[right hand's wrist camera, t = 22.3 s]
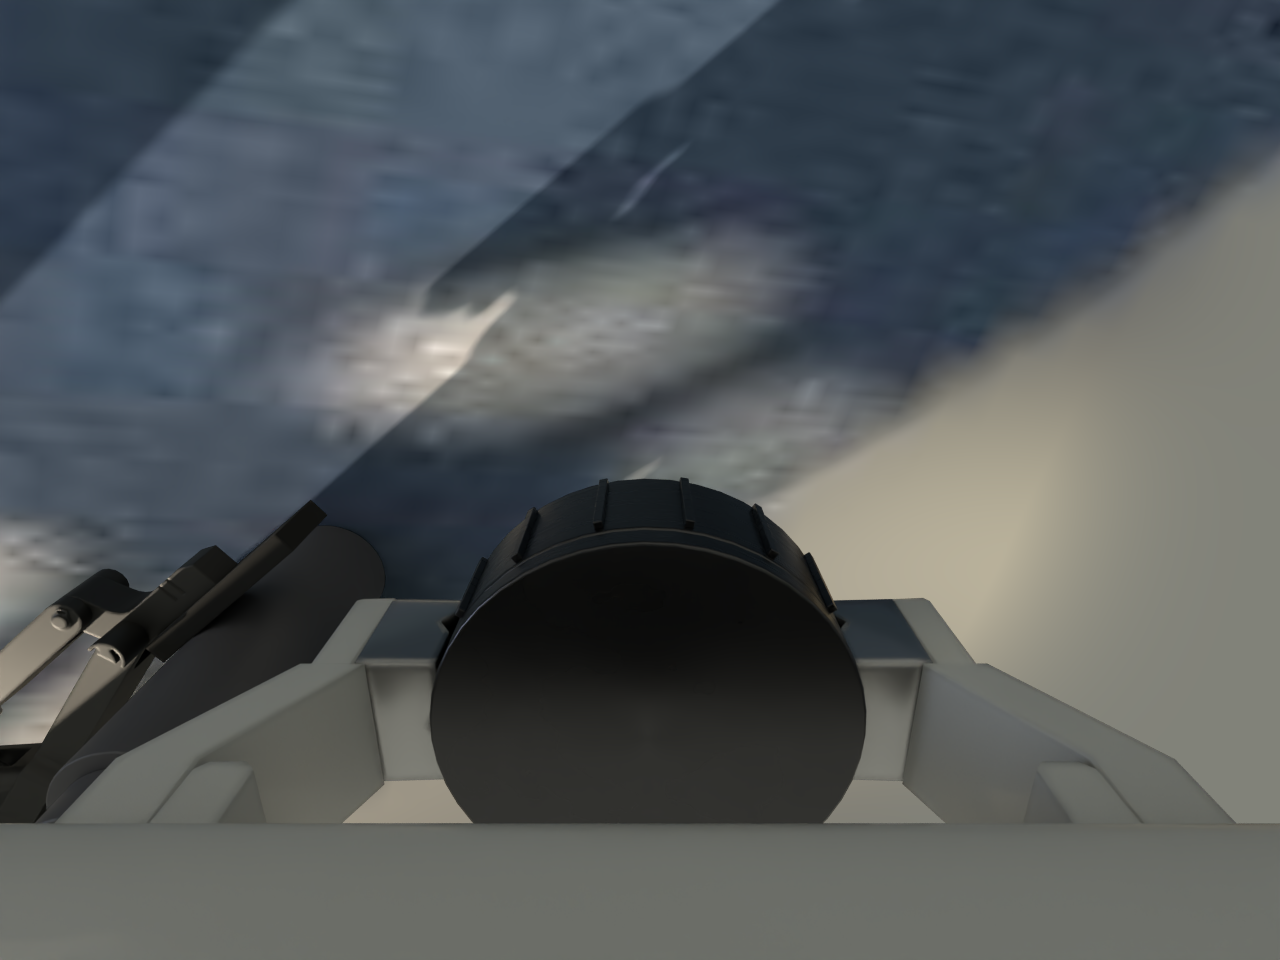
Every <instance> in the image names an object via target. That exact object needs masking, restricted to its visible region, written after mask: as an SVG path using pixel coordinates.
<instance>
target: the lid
mask: <svg viewBox="0 0 1280 960" xmlns="http://www.w3.org/2000/svg"><path fill="white" fill-rule="evenodd" d="M835 611H837V607H836V605H835V603H834V601H833V599H832V597H831V595H830V592H829V590H828V588H827V586H826V584H825V582H824V580H823V578H822V576H821V573H820V571H819V569H818V567H817V565H816V563H815V561H814V558H813V557H812V555H811V554H810V553H807V554H805V555H804V554H803V553H802V551H801V550H800V548H799V547H798V546H797V545H796V544H795V543H794V542H793V540H792V539H791V538H790V537H789V536H788V535H787V534H786V533H785V532H784V531H783V530H782V529H781V528H780V527H779V526H777V525H776V524H775V523H774V522H772V521H771V520H770V519H769V518H768V517H766V516H765V515H764V513H763V510H762V507H760V506H759V505H757V504H754V505H753V507H751V506H749V505H747V504H746V503H744V502H742V501H740V500H738V499H736V498H733V497H731V496H729V495H727V494H724V493H722V492H720V491H716V490H713V489H710V488H706V487H703V486H700V485H696V484H691V483H689V479H687V478H682V477H681V478H680V481H673V480H659V479H635V480H622V481H615V482H610V483H609V482H608V479H602V480H600V481H599V485H595V486H591V487H588V488H585V489H582V490H579V491H576V492H573V493H570V494H568V495H566V496H563V497H561V498H559V499H557V500H555V501H553V502H551V503H549V504H547V505H545V506H544V507H542V508H541V509H539V510H538V511H537V510H536V508H535V507H533V508H531V509H530V510H528V512H527V515H526V518H525V519H524V520H523V521H522V522H521V523H520V524H519V525H518V526H516V527H515V528H514V529H513V530H512V531H511V532H510V533H508V534H507V536H506V537H505V538H504V539H503V540H502V541H501V543H500V544H499V545H498V546H497V547H496V548H495V550H494V551H493V552H492V554H491V555H490V557H489V559H488V560H487V559H486V558H484V557H482V558H481V560H480V561H479V563H478V565H477V568H476V570H475V572H474V574H473V576H472V578H471V581H470V583H469V585H468V587H467V589H466V591H465V594H464V596H463V598H462V600H461V602H460V604H459V607H458V609H457V611H456V613H455V615H456V616H458V617H459V618H460V619H459V621H458V624H457V626H456V628H455V630H454V633H453V635H452V637H451V639H450V642H449V644H448V646H447V648H446V651H445V653H444V655H443V658H442V660H441V662H440V664H439V667H438V669H437V673H436V677H435V680H434V684H433V688H432V692H431V703H430V715H429V717H430V729H431V740H432V744H433V748H434V753H435V757H436V761H437V764H438V766H439V769H440V771H441V774H442V776H443V779H444V781H445V783H446V785H447V787H448V789H449V790H450V792H451V794H452V795H453V797H454V799H455V800H456V802H457V804H458V805H459V806H460V807H461V809H462V810H463V811H464V812H465V814H466V815H467V816H468V817H469V819H470V820H471V821H472V822H473V823H824V822H825V821H826V819H827V818H828V817H829V816H830V815H831V813H832V812H833V811H834V809H835V808H836V806H837V805H838V804H839V803H840V801H841V800H842V798H843V796H844V795H845V793H846V791H847V789H848V787H849V785H850V784H851V782H852V780H853V778H854V775H855V772H856V770H857V767H858V764H859V762H860V759H861V755H862V750H863V745H864V740H865V735H866V714H867V710H866V702H865V694H864V687H863V683H862V680H861V677H860V673H859V670H858V667H857V664H856V661H855V659H854V657H853V655H852V653H851V650H850V648H849V646H848V644H847V642H846V640H845V637H844V635H843V633H842V631H841V629H840V626H839V624H838V622H837V620H836V618H835V616H834V613H833V612H835Z"/></svg>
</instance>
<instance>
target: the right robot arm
mask: <svg viewBox="0 0 1280 960" xmlns="http://www.w3.org/2000/svg"><path fill="white" fill-rule="evenodd" d="M460 602H461V600H432V599H397V600H396V599H395V598H381V599H361V600H357V601H356V602H355V604H354V605H353V607H352V608H351V609H350V611H349V612H348V613H347V615H346V616H345V618H344V619H343V620H342V622H341V623H340V625H339V626H338V627H337V629H336V630H335V632H334V633H333V634H332V636H331V637H330V638H329V640H328V641H327V643H326V644H325V645H324V647H323V648H322V650H321V651H320V652H319V654H318V655H317V657H316V658H315V659H314V661H313V662H312V663H311V664H299V665H297V666H295V667H293V668H291V669H289V670H287V671H285V672H283V673H281V674H279V675H277V676H275V677H273V678H271V679H269V680H267V681H266V682H264V683H262V684H260V685H258V686H256V687H254V688H252V689H250V690H248V691H246V692H244V693H242V694H240V695H238V696H236V697H234V698H232V699H230V700H228V701H227V702H225V703H223V704H221V705H219V706H217V707H215V708H213V709H211V710H209V711H207V712H205V713H203V714H201V715H199V716H197V717H195V718H193V719H191V720H189V721H187V722H186V723H184V724H182V725H180V726H178V727H176V728H174V729H172V730H170V731H168V732H166V733H164V734H162V735H160V736H158V737H156V738H154V739H152V740H150V741H148V742H147V743H145V744H143V745H141V746H139V747H137V748H135V749H133V750H131V751H129V752H127V753H125V754H123V755H121V756H119V757H117V758H116V759H115V760H114V761H113V762H112V763H111V764H110V765H109V766H108V767H107V768H106V769H105V770H104V771H103V772H102V773H101V774H100V775H99V776H98V778H97V779H96V780H95V781H94V782H93V783H92V784H91V785H90V786H89V787H88V788H87V789H86V790H85V791H84V792H83V793H82V794H81V795H80V797H79V798H78V799H77V800H76V801H75V802H74V803H73V804H72V805H71V806H70V807H69V808H68V809H67V810H66V811H65V812H64V813H63V814H62V816H61V817H60V818H59V819H58V820H57V821H56V822H55V823H0V960H1280V824H1237V823H1236V822H1235V821H1234V820H1233V819H1232V818H1231V817H1230V816H1229V815H1228V814H1227V813H1226V812H1225V811H1224V810H1223V809H1222V808H1221V807H1220V806H1219V805H1218V804H1217V803H1216V802H1215V800H1214V799H1213V798H1212V797H1211V796H1210V795H1209V794H1208V793H1207V792H1206V791H1205V790H1204V789H1203V788H1202V787H1201V786H1200V785H1199V784H1198V783H1197V782H1196V781H1195V780H1194V779H1193V778H1192V776H1191V775H1190V774H1189V773H1188V772H1187V771H1186V770H1185V769H1184V768H1183V767H1182V766H1181V765H1180V764H1179V763H1178V762H1177V761H1176V760H1175V759H1173V758H1171V757H1169V756H1168V755H1165V754H1164V753H1162V752H1160V751H1158V750H1156V749H1154V748H1152V747H1150V746H1148V745H1146V744H1144V743H1142V742H1140V741H1138V740H1136V739H1134V738H1132V737H1130V736H1128V735H1126V734H1124V733H1122V732H1120V731H1118V730H1116V729H1114V728H1113V727H1111V726H1109V725H1107V724H1105V723H1103V722H1101V721H1099V720H1097V719H1095V718H1093V717H1091V716H1089V715H1087V714H1085V713H1083V712H1081V711H1079V710H1077V709H1075V708H1073V707H1071V706H1069V705H1067V704H1065V703H1063V702H1061V701H1060V700H1058V699H1056V698H1054V697H1052V696H1050V695H1048V694H1046V693H1044V692H1042V691H1040V690H1038V689H1036V688H1034V687H1032V686H1030V685H1028V684H1026V683H1024V682H1022V681H1020V680H1018V679H1016V678H1014V677H1012V676H1010V675H1008V674H1007V673H1005V672H1003V671H1001V670H999V669H997V668H995V667H993V666H991V665H989V664H976V663H975V662H974V660H973V659H972V657H971V656H970V655H969V653H968V652H967V651H966V649H965V648H964V647H963V645H962V644H961V643H960V641H959V640H958V639H957V637H956V636H955V635H954V633H953V632H952V631H951V629H950V628H949V627H948V625H947V624H946V622H945V621H944V620H943V618H942V617H941V616H940V614H939V613H938V612H937V610H936V609H935V608H934V606H933V605H932V604H931V602H930V601H928V600H926V599H924V598H911V599H878V600H837V601H834V603H835V605H836V607H837V611H835V612H833V613H834V616H835V618H836V620H837V622H838V624H839V626H840V629H841V631H842V633H843V635H844V637H845V640H846V642H847V644H848V646H849V648H850V650H851V653H852V655H853V657H854V659H855V661H856V664H857V667H858V670H859V673H860V677H861V680H862V683H863V687H864V694H865V702H866V710H867V714H866V735H865V740H864V745H863V750H862V755H861V759H860V762H859V764H858V767H857V770H856V772H855V775H854V778H853V780H887V781H903V785H904V786H905V787H907V788H908V789H909V790H910V791H911V792H912V793H913V794H914V795H915V796H917V797H918V798H919V799H920V800H921V801H922V802H923V803H924V804H925V805H926V806H927V807H929V808H930V809H931V810H932V811H933V812H934V813H935V814H936V815H937V816H938V817H940V818H941V819H942V820H943V821H944V822H945V823H343V822H344V821H345V820H346V819H347V818H348V817H349V816H350V815H351V814H352V813H354V812H355V811H356V810H357V809H358V808H359V807H360V806H361V805H362V804H363V803H364V802H366V801H367V800H368V799H369V798H370V797H371V796H372V795H373V794H374V793H375V792H377V791H378V790H379V789H380V788H381V787H382V786H383V785H384V781H399V780H434V779H443V776H442V774H441V771H440V769H439V766H438V764H437V761H436V757H435V753H434V748H433V744H432V740H431V729H430V717H429V715H430V703H431V692H432V688H433V684H434V680H435V677H436V673H437V669H438V667H439V664H440V662H441V660H442V658H443V655H444V653H445V651H446V648H447V646H448V644H449V642H450V639H451V637H452V635H453V633H454V630H455V628H456V626H457V624H458V621H459V619H460V618H459V617H458V616H456V615H455V613H456V611H457V609H458V607H459V604H460Z"/></svg>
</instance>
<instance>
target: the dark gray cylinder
mask: <svg viewBox="0 0 1280 960" xmlns="http://www.w3.org/2000/svg"><path fill="white" fill-rule="evenodd" d="M384 585H385V572H384V567H383V564H382V562H381V560H380V558H379V556H378V554H377V553H376V551H375V550H374V549H373V547H372V546H371V545H370V544H369V543H368V542H367V541H365V540H364V539H363V538H361V537H360V536H358V535H357V534H355V533H353V532H351V531H348V530H346V529H343V528H339V527H334V526H317V527H316V528H315V529H314V530H313V531H312V532H311V533H310V534H309V535H308V536H307V537H306V538H305V539H304V540H303V541H302V542H301V544H300V545H299V546H298V547H297V548H296V549H295V550H294V551H293V552H292V553H290V554H289V555H288V556H287V557H286V558H285V559H283V560H282V561H281V562H280V563H279V564H278V565H276V566H275V567H274V568H273V569H272V570H271V571H270V572H268V573H267V574H266V575H265V576H264V577H263V578H261V579H260V580H259V581H258V582H257V583H256V584H254V585H253V586H252V587H251V588H250V589H249V590H247V591H246V592H245V593H244V594H243V595H242V596H240V597H239V598H238V599H237V600H236V601H235V602H233V603H232V604H231V605H230V606H229V607H228V608H226V609H225V610H224V611H223V612H222V613H221V614H219V615H218V616H217V617H216V618H215V619H214V620H212V621H211V622H210V623H209V624H208V625H207V626H205V627H204V628H203V629H202V630H201V631H200V632H198V633H197V634H196V635H195V636H194V637H193V638H191V639H190V640H189V641H188V642H187V643H186V644H184V645H183V646H182V647H181V648H180V649H179V650H178V651H177V652H176V653H175V654H174V655H173V656H172V657H171V658H170V659H169V660H168V661H167V662H166V663H165V664H164V665H163V666H162V667H161V668H160V669H159V670H158V671H157V672H156V673H155V674H154V675H153V676H152V677H151V678H150V679H149V680H148V681H147V682H146V683H145V685H144V686H143V687H142V688H141V689H140V690H139V691H138V692H137V693H136V694H135V695H134V696H133V697H132V698H131V699H130V700H129V701H128V702H127V703H126V704H125V705H124V706H123V707H122V708H121V709H120V710H119V711H118V712H117V713H116V714H115V715H114V716H113V717H112V718H111V719H110V720H109V721H108V722H107V723H106V724H105V725H104V726H103V727H102V728H101V729H100V730H99V731H98V732H97V733H96V734H95V735H94V736H93V737H92V738H91V739H90V740H89V741H88V742H87V743H86V744H85V745H84V746H83V747H82V748H81V749H80V750H79V751H78V752H77V753H76V754H75V755H74V756H73V757H72V758H71V759H70V760H69V761H68V762H67V763H66V764H65V765H64V766H63V767H62V768H61V769H60V770H59V771H58V772H57V774H56V775H55V776H54V777H53V779H52V781H51V783H50V785H49V788H48V791H47V796H46V808H47V811H46V812H45V813H44V814H43V815H42V816H41V817H40V818H39V819H38V820H37V821H36V822H35V823H55V822H56V821H57V820H58V819H59V818H60V817H61V816H62V814H63V813H64V812H65V811H66V810H67V809H68V808H69V807H70V806H71V805H72V804H73V803H74V802H75V801H76V800H77V799H78V798H79V797H80V795H81V794H82V793H83V792H84V791H85V790H86V789H87V788H88V787H89V786H90V785H91V784H92V783H93V782H94V781H95V780H96V779H97V778H98V776H99V775H100V774H101V773H102V772H103V771H104V770H105V769H106V768H107V767H108V766H109V765H110V764H111V763H112V762H113V761H114V760H115V759H116V758H117V757H119V756H121V755H123V754H125V753H127V752H129V751H131V750H133V749H135V748H137V747H139V746H141V745H143V744H145V743H147V742H148V741H150V740H152V739H154V738H156V737H158V736H160V735H162V734H164V733H166V732H168V731H170V730H172V729H174V728H176V727H178V726H180V725H182V724H184V723H186V722H187V721H189V720H191V719H193V718H195V717H197V716H199V715H201V714H203V713H205V712H207V711H209V710H211V709H213V708H215V707H217V706H219V705H221V704H223V703H225V702H227V701H228V700H230V699H232V698H234V697H236V696H238V695H240V694H242V693H244V692H246V691H248V690H250V689H252V688H254V687H256V686H258V685H260V684H262V683H264V682H266V681H267V680H269V679H271V678H273V677H275V676H277V675H279V674H281V673H283V672H285V671H287V670H289V669H291V668H293V667H295V666H297V665H299V664H311V663H312V662H313V661H314V659H315V658H316V657H317V655H318V654H319V652H320V651H321V650H322V648H323V647H324V645H325V644H326V643H327V641H328V640H329V638H330V637H331V636H332V634H333V633H334V632H335V630H336V629H337V627H338V626H339V625H340V623H341V622H342V620H343V619H344V618H345V616H346V615H347V613H348V612H349V611H350V609H351V608H352V607H353V605H354V604H355V602H356V601H357V600H361V599H379V598H380V597H381V594H382V592H383V589H384Z"/></svg>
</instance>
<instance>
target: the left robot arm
mask: <svg viewBox="0 0 1280 960" xmlns="http://www.w3.org/2000/svg"><path fill="white" fill-rule="evenodd" d="M326 516H327V514H326V513H324V512H323V511H322V510H321V509H320V508H319V507H318V506H317V505H316V504H315V503H314V502H312V501H311V500H310V501H309V502H308V503H307V504H306V505H304V506H303V507H302V508H301V509H300V510H299V511H298V512H296V513H295V514H294V515H293V516H292V517H291V518H290V519H288V520H287V521H286V522H285V523H284V524H283V525H282V526H280V527H279V528H278V529H277V530H276V531H275V532H274V533H272V534H271V535H270V536H269V537H268V538H267V539H266V540H264V541H263V542H262V543H261V544H260V545H259V546H258V547H256V548H255V549H254V550H253V551H252V552H251V553H250V554H248V555H247V556H246V557H245V558H244V559H243V560H242V561H240V562H239V563H238V564H237V563H236V562H235V561H234V560H233V559H231V558H230V557H229V556H228V555H227V554H225V553H224V552H223V551H222V550H221V549H220V548H218V547H217V546H216V545H215V546H212V547H208V548H205V549H202V550H201V551H199V552H198V553H197V554H196V555H195V556H193V557H192V558H191V559H190V560H188V561H187V562H186V563H185V564H184V565H182V566H181V567H180V568H179V569H178V570H176V571H175V572H174V573H173V574H172V575H171V576H170V577H169V578H168V579H166V580H165V581H164V582H163V583H162V584H161V585H160V586H159V587H158V588H156V589H155V590H154V591H151V592H141V591H137V590H134V589H132V588H129V583H128V581H127V579H126V578H125V577H124V576H123V574H121V573H119V572H118V571H116V570H112V569H103V570H101V571H99V572H97V573H96V574H94V575H93V576H91V577H90V578H88V579H87V580H86V581H84V582H83V583H81V584H80V585H79V586H77V587H76V588H74V589H73V590H71V591H70V592H69V593H67V594H66V595H64V596H63V597H62V598H60V599H59V600H57V601H56V602H55V603H53V604H52V605H50V606H49V607H48V608H46V609H45V610H44V611H43V612H42V613H41V614H40V615H39V616H38V617H36V618H35V619H34V620H33V621H32V622H31V623H30V624H29V625H28V626H27V627H26V628H25V629H24V630H22V631H21V632H20V633H19V634H18V635H17V636H16V637H15V638H14V639H13V640H12V641H11V642H10V643H8V644H7V645H6V646H5V647H4V648H3V649H2V650H1V651H0V714H1V713H2V712H3V709H2V707H1V705H2V704H3V703H4V702H6V701H7V700H8V699H9V698H11V697H12V696H13V695H14V694H16V693H17V692H18V691H19V690H21V689H22V688H23V687H24V686H25V685H26V684H27V683H29V682H30V681H31V680H32V679H33V678H34V677H35V676H36V675H37V674H39V673H40V672H41V671H42V670H43V669H44V668H45V667H46V666H47V665H49V664H50V663H51V662H52V661H53V660H54V659H55V658H56V657H57V656H59V655H60V654H61V653H62V652H63V651H64V650H65V649H66V648H67V647H69V646H70V645H71V644H72V643H73V642H74V641H75V640H76V639H77V638H79V637H80V636H81V635H82V634H83V633H84V632H85V633H88V634H90V635H92V636H95V637H97V638H100V639H99V640H97V641H96V642H95V643H94V644H93V645H91V646H90V647H89V648H88V649H87V650H89V651H92V650H93V649H94V648H96V650H95V652H94V653H93V655H92V657H91V659H90V660H89V662H88V664H87V666H86V667H85V669H84V671H83V673H82V674H81V676H80V678H79V680H78V681H77V683H76V685H75V687H74V688H73V690H72V692H71V694H70V695H69V697H68V699H67V700H66V702H65V704H64V706H63V707H62V709H61V711H60V713H59V714H58V716H57V718H56V720H55V721H54V723H53V725H52V727H51V728H50V730H49V732H48V734H47V735H46V737H45V739H44V741H43V742H42V743H36V744H19V745H2V746H0V823H35V822H36V821H37V820H38V819H39V818H40V817H41V816H42V815H43V814H44V813H45V812H46V811H47V808H46V796H47V791H48V788H49V785H50V783H51V781H52V779H53V777H54V776H55V775H56V774H57V772H58V771H59V770H60V769H61V768H62V767H63V766H64V765H65V764H66V763H67V762H68V761H69V760H70V759H71V758H72V757H73V756H74V755H75V754H76V753H77V752H78V751H79V750H80V749H81V748H82V747H83V746H84V745H85V744H86V743H87V742H88V741H89V740H90V739H91V738H92V737H93V736H94V735H95V734H96V733H97V732H98V731H99V730H100V729H101V728H102V727H103V726H104V725H105V724H106V723H107V722H108V721H109V720H110V719H111V718H112V717H113V716H114V715H115V714H116V713H117V712H118V711H119V710H120V709H121V708H122V707H123V706H124V705H125V704H126V703H127V702H128V700H129V699H130V697H131V695H132V694H133V692H134V690H135V689H136V687H137V685H138V684H139V682H140V680H141V679H142V677H143V676H144V674H145V672H146V671H147V669H148V667H149V666H150V664H151V662H152V661H153V659H154V658H155V656H156V657H157V658H158V659H160V660H161V661H162V662H165V661H166V660H167V659H168V658H169V657H171V656H172V655H173V654H174V653H175V652H176V651H178V650H179V649H180V648H181V647H182V646H183V645H184V644H186V643H187V642H188V641H189V640H190V639H191V638H193V637H194V636H195V635H196V634H197V633H198V632H200V631H201V630H202V629H203V628H204V627H205V626H207V625H208V624H209V623H210V622H211V621H212V620H214V619H215V618H216V617H217V616H218V615H219V614H221V613H222V612H223V611H224V610H225V609H226V608H228V607H229V606H230V605H231V604H232V603H233V602H235V601H236V600H237V599H238V598H239V597H240V596H242V595H243V594H244V593H245V592H246V591H247V590H249V589H250V588H251V587H252V586H253V585H254V584H256V583H257V582H258V581H259V580H260V579H261V578H263V577H264V576H265V575H266V574H267V573H268V572H270V571H271V570H272V569H273V568H274V567H275V566H276V565H278V564H279V563H280V562H281V561H282V560H283V559H285V558H286V557H287V556H288V555H289V554H290V553H292V552H293V551H294V550H295V549H296V548H297V547H298V546H299V545H300V544H301V542H302V541H303V540H304V539H305V538H306V537H307V536H308V535H309V534H310V533H311V532H312V531H313V530H314V529H315V528H316V527H317V526H318V524H319V523H320V522H321V521H322V520H323V519H324V518H325V517H326Z"/></svg>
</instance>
